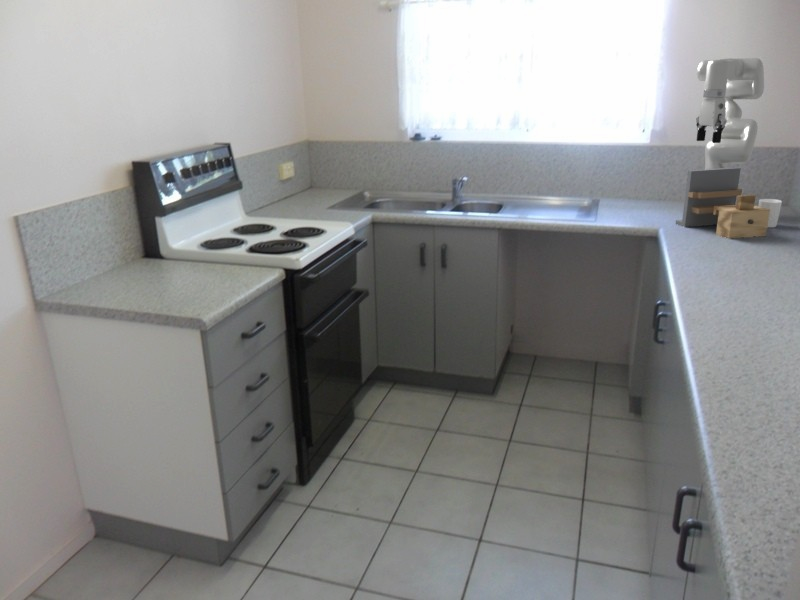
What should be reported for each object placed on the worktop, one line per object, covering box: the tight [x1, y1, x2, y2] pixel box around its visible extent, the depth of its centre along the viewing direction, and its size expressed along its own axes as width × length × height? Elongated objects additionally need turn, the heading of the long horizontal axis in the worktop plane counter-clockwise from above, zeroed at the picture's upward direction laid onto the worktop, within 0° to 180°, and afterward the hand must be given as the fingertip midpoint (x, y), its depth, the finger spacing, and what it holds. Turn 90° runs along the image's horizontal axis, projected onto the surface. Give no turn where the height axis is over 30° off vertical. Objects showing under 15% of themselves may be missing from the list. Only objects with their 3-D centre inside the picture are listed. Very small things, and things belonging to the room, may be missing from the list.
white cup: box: [758, 198, 783, 228], centre depth 259 cm, size 8×8×10 cm
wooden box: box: [713, 194, 770, 239], centre depth 246 cm, size 12×16×15 cm
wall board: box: [675, 167, 743, 228], centre depth 261 cm, size 10×22×22 cm, turn 103°
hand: (708, 141), depth 251 cm, fingers open, 9 cm apart
